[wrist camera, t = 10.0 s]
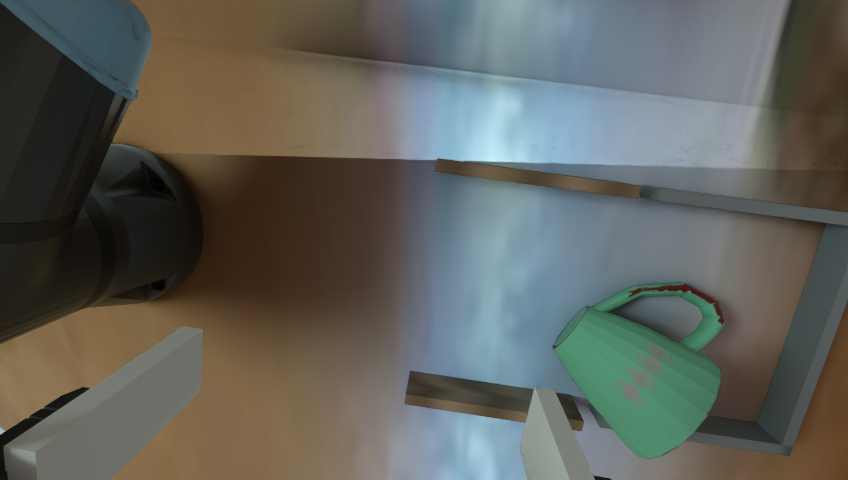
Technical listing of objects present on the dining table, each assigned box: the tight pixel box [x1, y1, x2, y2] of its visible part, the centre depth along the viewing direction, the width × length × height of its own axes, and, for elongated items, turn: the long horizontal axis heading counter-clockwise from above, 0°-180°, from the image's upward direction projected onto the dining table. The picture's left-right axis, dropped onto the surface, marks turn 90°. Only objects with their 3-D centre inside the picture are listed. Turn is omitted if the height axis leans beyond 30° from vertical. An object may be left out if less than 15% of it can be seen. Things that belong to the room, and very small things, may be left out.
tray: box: [589, 185, 848, 456], centre depth 36 cm, size 17×22×3 cm
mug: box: [553, 282, 726, 459], centre depth 35 cm, size 15×10×10 cm
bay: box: [405, 159, 641, 431], centre depth 36 cm, size 16×22×4 cm
